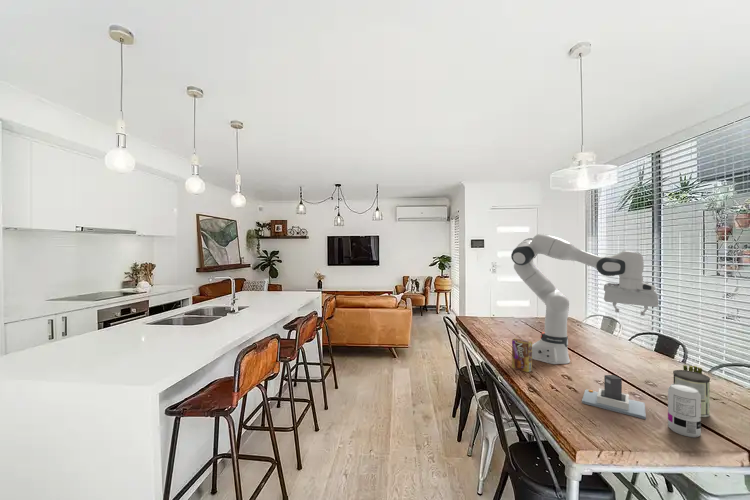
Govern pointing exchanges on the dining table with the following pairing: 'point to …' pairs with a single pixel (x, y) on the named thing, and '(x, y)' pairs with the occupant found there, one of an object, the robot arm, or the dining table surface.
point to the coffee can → (695, 386)
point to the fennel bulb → (692, 369)
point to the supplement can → (684, 410)
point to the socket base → (614, 403)
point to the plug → (613, 387)
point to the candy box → (522, 355)
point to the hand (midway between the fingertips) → (629, 313)
